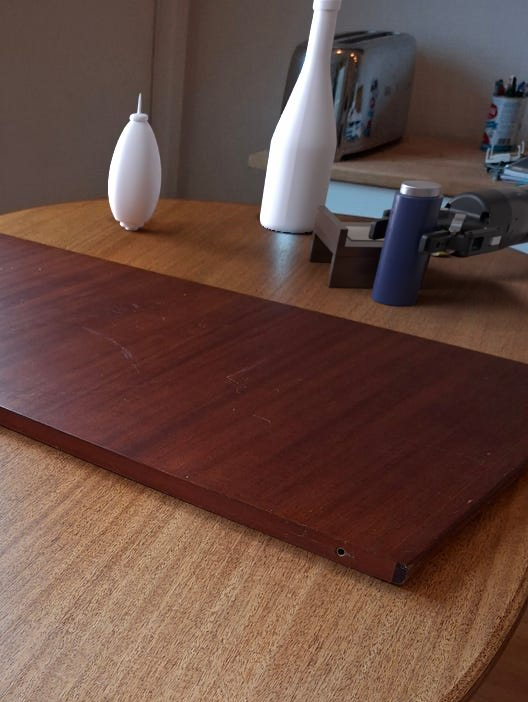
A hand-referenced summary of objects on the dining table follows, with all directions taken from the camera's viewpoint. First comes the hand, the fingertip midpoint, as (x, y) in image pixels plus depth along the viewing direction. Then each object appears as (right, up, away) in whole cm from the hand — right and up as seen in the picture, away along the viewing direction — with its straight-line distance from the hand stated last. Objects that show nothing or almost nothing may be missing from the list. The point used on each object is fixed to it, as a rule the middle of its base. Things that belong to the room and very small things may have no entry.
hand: (396, 237), depth 104 cm
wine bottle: (-3, +17, +34) cm, 38 cm away
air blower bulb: (-28, +16, +32) cm, 46 cm away
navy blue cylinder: (+2, -5, +6) cm, 8 cm away
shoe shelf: (+1, +2, +14) cm, 14 cm away
